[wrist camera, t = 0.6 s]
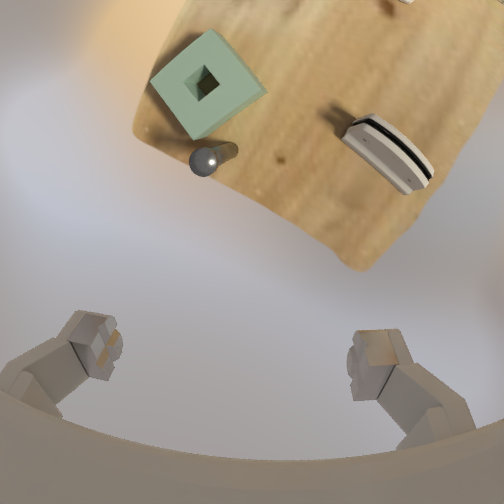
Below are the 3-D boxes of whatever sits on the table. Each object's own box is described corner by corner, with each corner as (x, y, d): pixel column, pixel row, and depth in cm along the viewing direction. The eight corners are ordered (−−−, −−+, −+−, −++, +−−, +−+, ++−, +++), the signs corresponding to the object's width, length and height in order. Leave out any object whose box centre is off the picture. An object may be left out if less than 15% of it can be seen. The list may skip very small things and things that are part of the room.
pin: (232, 134, 53) (204, 142, 41) (245, 152, 54) (221, 166, 42) (215, 147, 55) (183, 159, 43) (228, 165, 56) (200, 182, 44)
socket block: (222, 35, 44) (210, 28, 39) (268, 92, 48) (261, 89, 43) (165, 82, 51) (149, 81, 46) (205, 137, 55) (193, 140, 49)
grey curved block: (339, 138, 49) (355, 126, 39) (352, 119, 48) (371, 105, 38) (405, 196, 51) (431, 197, 41) (417, 177, 50) (444, 175, 40)
